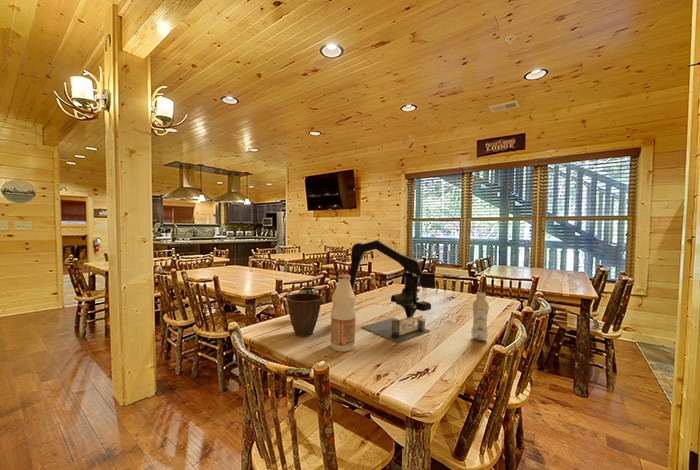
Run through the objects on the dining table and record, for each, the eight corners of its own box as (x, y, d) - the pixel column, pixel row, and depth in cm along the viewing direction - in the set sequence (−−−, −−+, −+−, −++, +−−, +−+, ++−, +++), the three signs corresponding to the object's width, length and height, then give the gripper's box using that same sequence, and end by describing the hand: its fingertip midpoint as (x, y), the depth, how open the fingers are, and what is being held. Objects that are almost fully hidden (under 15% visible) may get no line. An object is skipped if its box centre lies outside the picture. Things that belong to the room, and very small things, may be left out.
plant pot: (279, 333, 124) (279, 296, 124) (306, 325, 135) (307, 291, 135) (300, 343, 114) (301, 303, 114) (328, 333, 125) (328, 297, 125)
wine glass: (308, 321, 140) (308, 291, 140) (295, 318, 144) (296, 288, 144) (318, 317, 147) (318, 288, 146) (306, 314, 151) (306, 286, 151)
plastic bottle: (486, 338, 124) (488, 292, 124) (488, 344, 118) (490, 295, 117) (470, 335, 126) (472, 290, 126) (471, 341, 120) (473, 294, 119)
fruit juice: (327, 350, 108) (328, 276, 108) (334, 340, 118) (336, 272, 117) (351, 353, 106) (353, 278, 105) (357, 343, 115) (358, 274, 114)
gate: (399, 335, 122) (399, 321, 122) (396, 334, 123) (396, 320, 123) (422, 327, 132) (422, 315, 132) (419, 326, 133) (419, 314, 133)
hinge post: (395, 340, 120) (395, 322, 119) (389, 338, 122) (390, 320, 122) (400, 338, 121) (400, 321, 121) (394, 336, 124) (395, 319, 123)
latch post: (422, 333, 128) (422, 320, 128) (417, 331, 130) (418, 318, 130) (425, 332, 130) (425, 319, 130) (420, 330, 132) (421, 317, 131)
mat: (397, 343, 117) (397, 342, 117) (361, 327, 134) (361, 326, 134) (429, 331, 131) (429, 330, 131) (393, 318, 148) (393, 317, 148)
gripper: (383, 284, 132) (381, 318, 133) (417, 293, 118) (415, 331, 118) (399, 282, 139) (397, 313, 140) (432, 290, 125) (430, 325, 126)
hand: (409, 320), depth 131 cm, fingers closed
